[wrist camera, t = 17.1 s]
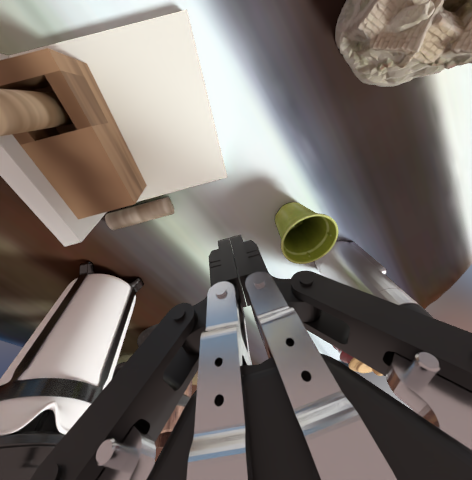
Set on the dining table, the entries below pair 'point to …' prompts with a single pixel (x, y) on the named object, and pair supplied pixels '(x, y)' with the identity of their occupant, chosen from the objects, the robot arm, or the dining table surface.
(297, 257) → the plant pot
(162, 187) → the l-shaped bookend
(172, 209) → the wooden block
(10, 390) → the coffee press
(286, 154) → the dining table surface
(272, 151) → the dining table surface
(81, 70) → the wooden square-hole block
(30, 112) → the dowel
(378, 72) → the ceramic cottage
